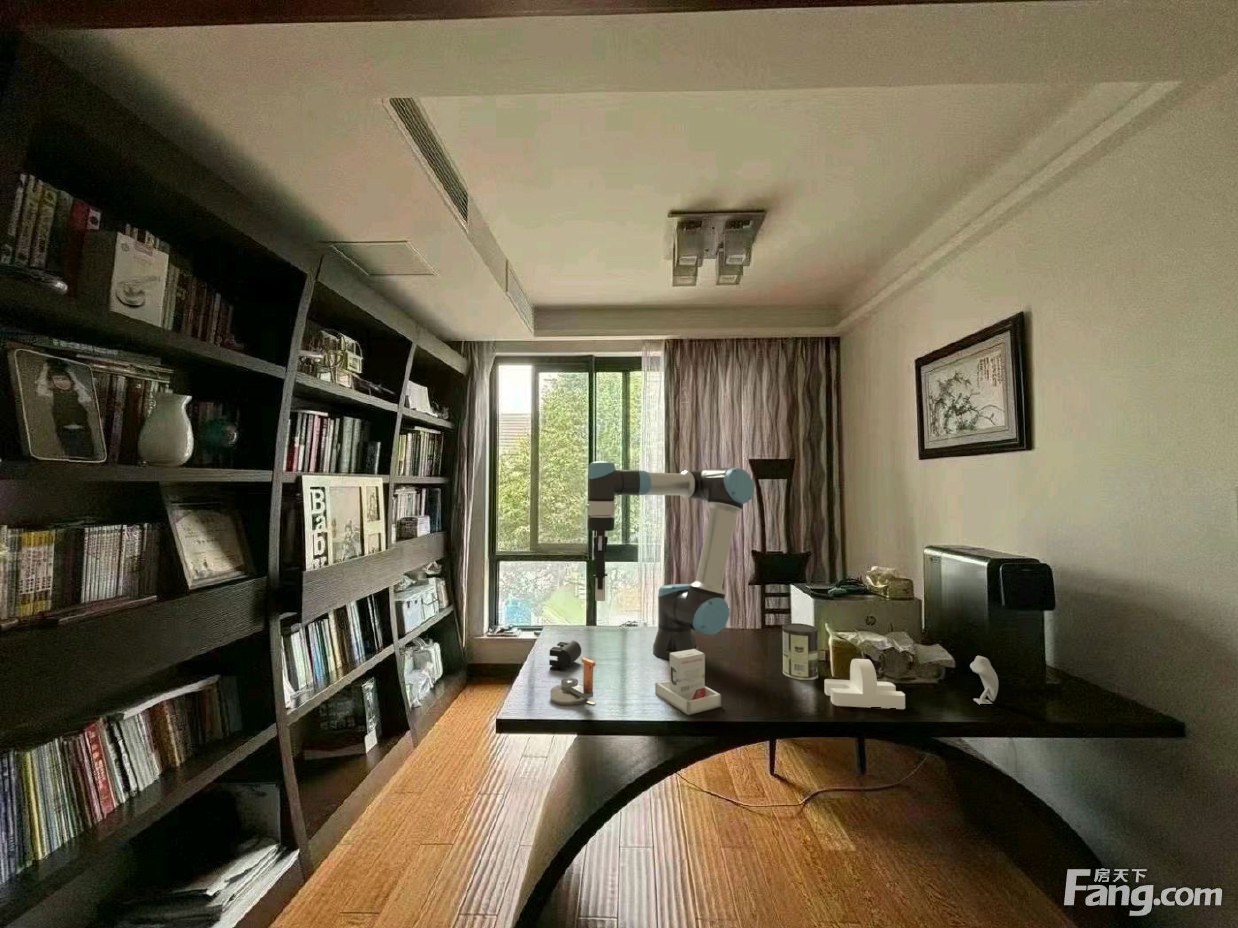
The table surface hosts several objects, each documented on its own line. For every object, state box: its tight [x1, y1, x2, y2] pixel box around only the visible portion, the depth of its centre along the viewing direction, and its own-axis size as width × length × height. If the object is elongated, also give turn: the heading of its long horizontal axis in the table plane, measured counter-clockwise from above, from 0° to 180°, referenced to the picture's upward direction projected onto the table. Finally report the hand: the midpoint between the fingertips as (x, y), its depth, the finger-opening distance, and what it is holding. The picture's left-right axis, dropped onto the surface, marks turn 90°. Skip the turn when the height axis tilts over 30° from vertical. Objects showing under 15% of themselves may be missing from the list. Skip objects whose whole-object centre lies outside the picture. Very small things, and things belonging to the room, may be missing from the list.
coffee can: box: [781, 622, 819, 681], centre depth 156 cm, size 10×10×14 cm
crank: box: [560, 657, 596, 699], centre depth 134 cm, size 12×4×10 cm, turn 41°
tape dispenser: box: [823, 658, 906, 710], centre depth 138 cm, size 10×18×11 cm, turn 84°
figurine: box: [969, 655, 999, 705], centre depth 137 cm, size 8×5×12 cm
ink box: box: [668, 649, 706, 701], centre depth 136 cm, size 9×5×12 cm, turn 117°
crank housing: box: [549, 683, 596, 707], centre depth 136 cm, size 10×12×2 cm
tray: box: [654, 679, 722, 716], centre depth 136 cm, size 11×15×3 cm
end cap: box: [548, 639, 582, 672], centre depth 161 cm, size 10×7×7 cm
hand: (600, 600), depth 144 cm, fingers closed
